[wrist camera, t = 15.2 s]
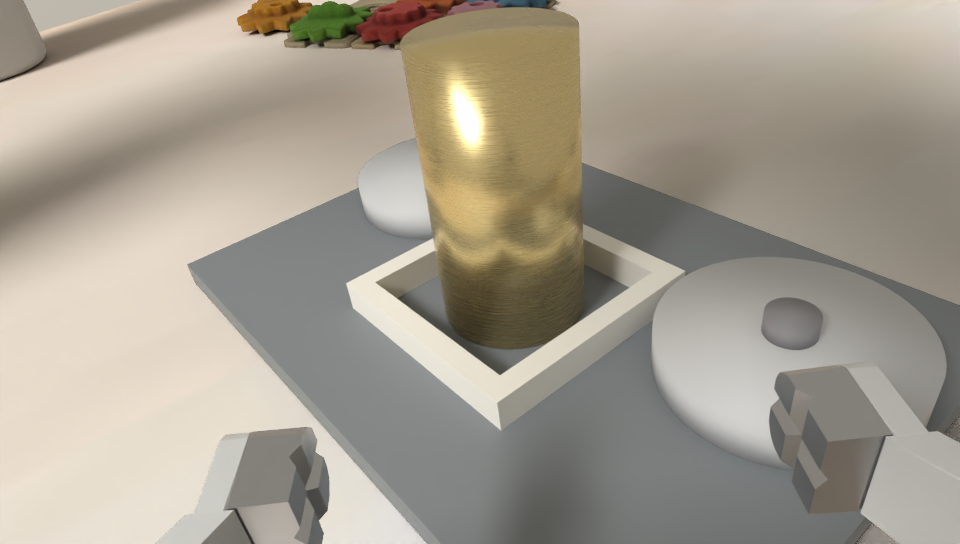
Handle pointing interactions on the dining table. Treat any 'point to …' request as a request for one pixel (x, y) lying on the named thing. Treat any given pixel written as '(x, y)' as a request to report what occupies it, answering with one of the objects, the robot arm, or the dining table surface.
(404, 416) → the grey holder tray
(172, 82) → the dining table surface
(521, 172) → the brushed brass cylinder
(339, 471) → the dining table surface
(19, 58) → the cylinder vase
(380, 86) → the dining table surface
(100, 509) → the dining table surface
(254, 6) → the gear puzzle
